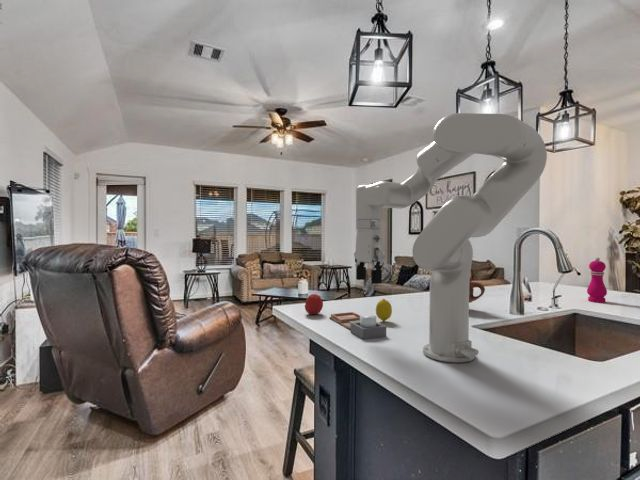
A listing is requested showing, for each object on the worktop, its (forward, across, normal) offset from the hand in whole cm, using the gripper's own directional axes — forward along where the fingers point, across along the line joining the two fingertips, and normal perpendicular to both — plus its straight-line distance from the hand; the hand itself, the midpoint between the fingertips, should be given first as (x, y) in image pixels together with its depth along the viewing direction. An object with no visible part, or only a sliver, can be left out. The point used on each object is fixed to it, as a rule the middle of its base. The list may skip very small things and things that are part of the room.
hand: (368, 281), depth 112 cm
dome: (+15, 0, 0) cm, 15 cm away
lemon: (+16, +12, -13) cm, 24 cm away
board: (+16, +13, -2) cm, 21 cm away
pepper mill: (+17, +9, -122) cm, 123 cm away
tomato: (+16, +32, +7) cm, 36 cm away
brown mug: (+16, +18, -52) cm, 57 cm away
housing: (+16, 0, 0) cm, 16 cm away
